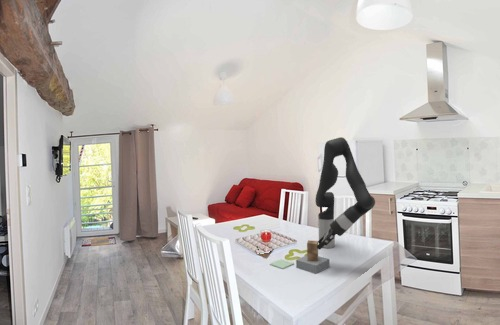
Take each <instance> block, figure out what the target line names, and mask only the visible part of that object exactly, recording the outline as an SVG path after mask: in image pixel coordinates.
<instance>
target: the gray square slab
mask: <svg viewBox="0 0 500 325" xmlns="http://www.w3.org/2000/svg"><path fill="white" fill-rule="evenodd" d="M330 265H331V264H330V258H326V257H324V256H323V257H322V256H319V255H318V261H307V255H304V256H302V257H299V258H296V260H295V266H296V268H298V269H300V270H303V271H306V272H309V273H312V274H314V275H315V274H318V273H320V272H322V271H324V270H326V269H328V268H330Z"/></svg>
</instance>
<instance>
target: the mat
mask: <svg viewBox="0 0 500 325" xmlns="http://www.w3.org/2000/svg"><path fill="white" fill-rule="evenodd" d="M269 265H270V266H272V267H275V268H278V269H282V270H284V269H287V268H289V267H291V266H293V265H295V263H294V262H291V261H288V260H286V259H281V258H280V259H278V260H276V261H273V262H271V263H269Z"/></svg>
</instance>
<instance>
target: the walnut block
mask: <svg viewBox="0 0 500 325" xmlns="http://www.w3.org/2000/svg"><path fill="white" fill-rule="evenodd" d="M318 241H319V240H311V239H310V240H309V239H308V240H307V242H306V254H307V261H318V256H319V249H318V248H317V245H318V244H319V243H318Z"/></svg>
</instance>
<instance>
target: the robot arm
mask: <svg viewBox="0 0 500 325" xmlns="http://www.w3.org/2000/svg"><path fill="white" fill-rule="evenodd" d="M323 151H324V152H323V153H324V154H323V160H322V161H323V163H322V169H321V173H320V177H319V178H320V179H319V183H318V188H317V191H316V194H315V205H316V206H317V207H318V208H326V209H325V210H323V211H322V212H319V213H318V215H317V217H318V240H317V241H318V245H317V248H318V251H320V250H321V249H331V248H335V246H336V245H335V243H336V242H335V240H336V235H337V236H339V237H342V236H343V235H344V233H346V232H347V231H348V230H349V229H350V228H351V227H352V226H353V225H354V224H355V223H356V222H357V221H358V220H359V219H360V218H361V217H362V216H364V215H365V214H366V213H369V211H371V210H372V209H373V208H374V207H375V205H376V200H375V198H374V197H373V195H371V194H370V192H369V190H368V188H367V185H366V183H365V180H364V179H363V177H362V175H361V172H360V171H359V170H358V167H357V164H356V162H355V158H354V156H353V152H352V150H351V148H350V145H349V143H348V141H347V140H346V138H345V137H337V138H334V139H333V138H332V139H329V140H327V141H326V142H325V145H324V149H323ZM339 156H343V158H344V160H345V179H346V181H347V183H348V185H349V187H350V189H351V190H352V193H353V195H354V198H355V200H356V203H355V204H354V205H350V206H349V207H348V208H347V209H346V210H344V211H343V213H341V214H340V215H338V216H337V217H336V218H335V194H334V193H333V192H331V191H329V190H330V189H332V188H333V187H334V186H335V185H336V183H337V180H338V177H339V170H338V168H337V166H336V165H335V163H334V161H335V160H334V159H335V158H337V157H339Z"/></svg>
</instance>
